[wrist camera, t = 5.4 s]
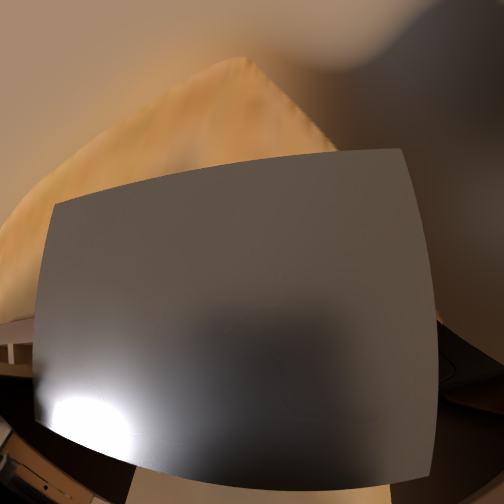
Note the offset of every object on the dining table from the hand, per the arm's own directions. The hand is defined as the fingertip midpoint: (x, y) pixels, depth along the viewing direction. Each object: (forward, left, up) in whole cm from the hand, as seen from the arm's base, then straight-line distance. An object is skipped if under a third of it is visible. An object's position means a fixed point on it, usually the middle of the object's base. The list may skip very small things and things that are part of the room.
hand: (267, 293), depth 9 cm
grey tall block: (0, -1, -7) cm, 7 cm away
